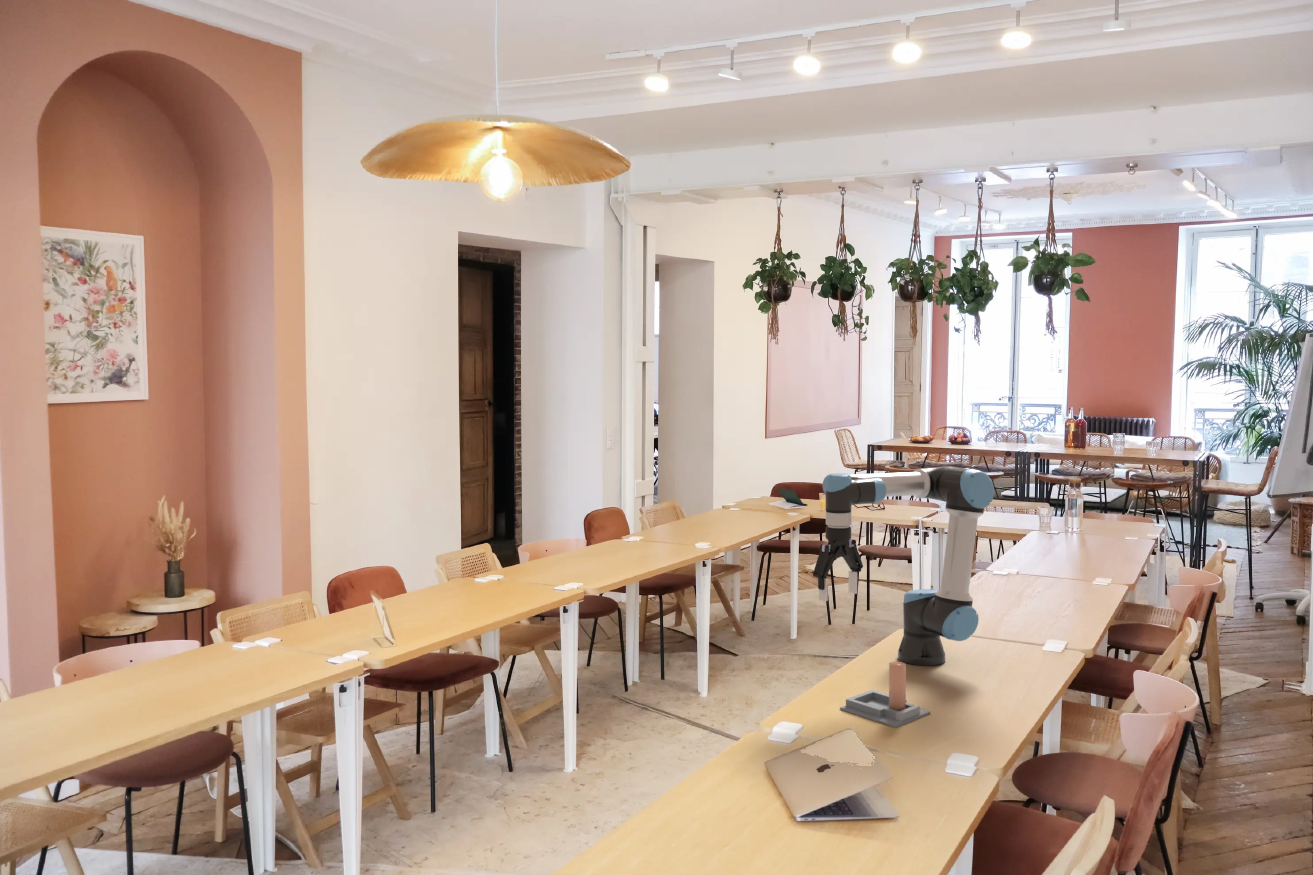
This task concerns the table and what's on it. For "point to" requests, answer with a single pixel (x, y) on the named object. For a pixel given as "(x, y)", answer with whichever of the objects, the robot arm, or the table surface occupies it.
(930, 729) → the table surface
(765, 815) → the table surface
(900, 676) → the tall peach cylinder
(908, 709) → the keyhole board
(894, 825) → the table surface
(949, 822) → the table surface
